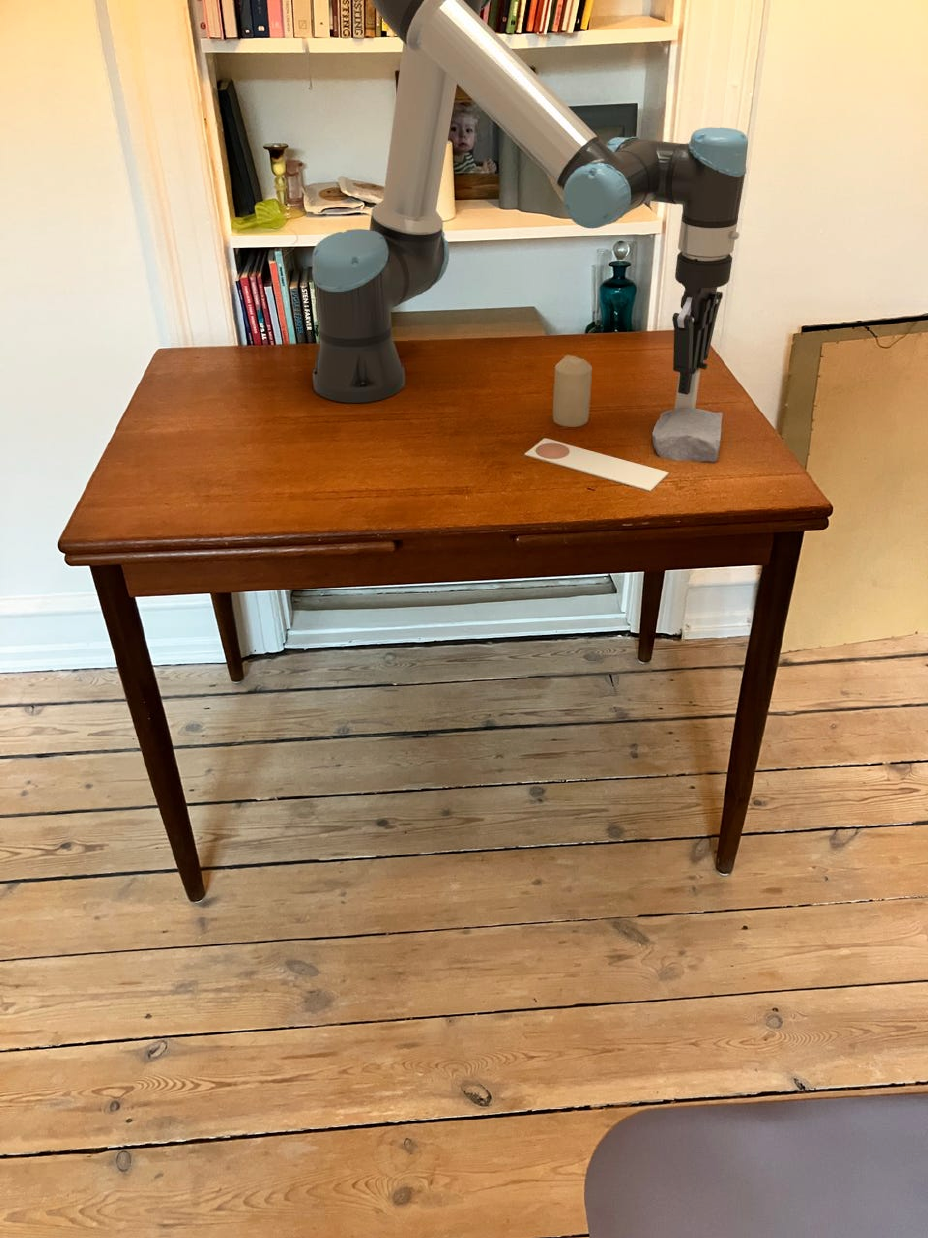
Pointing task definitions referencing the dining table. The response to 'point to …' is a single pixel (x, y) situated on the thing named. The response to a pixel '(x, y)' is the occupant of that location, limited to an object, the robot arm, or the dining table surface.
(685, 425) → the stone block
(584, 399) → the candle
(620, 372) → the dining table surface
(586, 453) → the test strip
